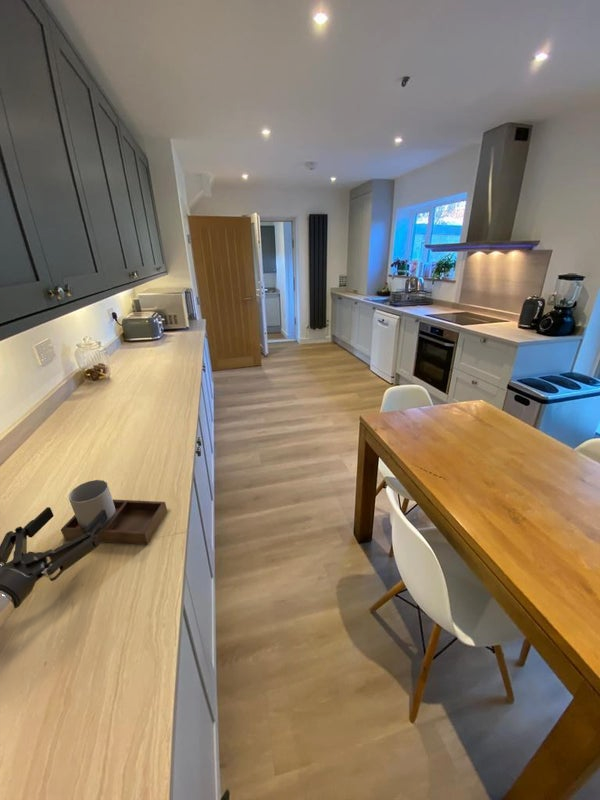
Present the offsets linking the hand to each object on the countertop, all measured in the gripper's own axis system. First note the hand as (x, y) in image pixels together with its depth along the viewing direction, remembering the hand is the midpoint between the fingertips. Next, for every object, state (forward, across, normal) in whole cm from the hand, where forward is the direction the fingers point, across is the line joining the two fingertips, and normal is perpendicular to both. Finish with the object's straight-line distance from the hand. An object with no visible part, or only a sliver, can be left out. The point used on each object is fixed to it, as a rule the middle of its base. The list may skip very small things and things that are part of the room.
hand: (77, 512), depth 77 cm
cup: (+5, 0, -8) cm, 9 cm away
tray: (+5, +5, -9) cm, 11 cm away
